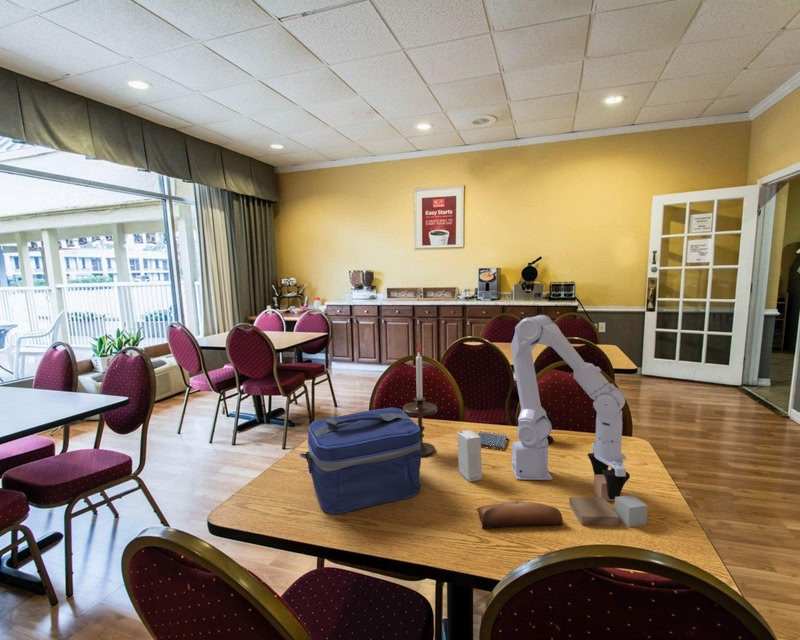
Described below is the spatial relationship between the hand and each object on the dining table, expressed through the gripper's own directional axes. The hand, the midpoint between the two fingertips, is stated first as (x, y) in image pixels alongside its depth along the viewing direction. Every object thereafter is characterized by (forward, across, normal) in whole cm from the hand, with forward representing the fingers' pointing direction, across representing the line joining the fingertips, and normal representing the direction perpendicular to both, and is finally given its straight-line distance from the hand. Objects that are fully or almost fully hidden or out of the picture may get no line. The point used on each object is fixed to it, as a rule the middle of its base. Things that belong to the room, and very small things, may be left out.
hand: (606, 490), depth 101 cm
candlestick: (+2, +25, +47) cm, 53 cm away
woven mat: (+2, +32, +24) cm, 40 cm away
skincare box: (+2, +9, +33) cm, 34 cm away
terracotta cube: (+2, 0, 0) cm, 2 cm away
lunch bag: (+2, +2, +61) cm, 61 cm away
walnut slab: (+2, -8, +6) cm, 11 cm away
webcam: (+2, +34, +7) cm, 35 cm away
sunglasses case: (+2, -10, +24) cm, 26 cm away
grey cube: (+2, -10, -1) cm, 10 cm away
